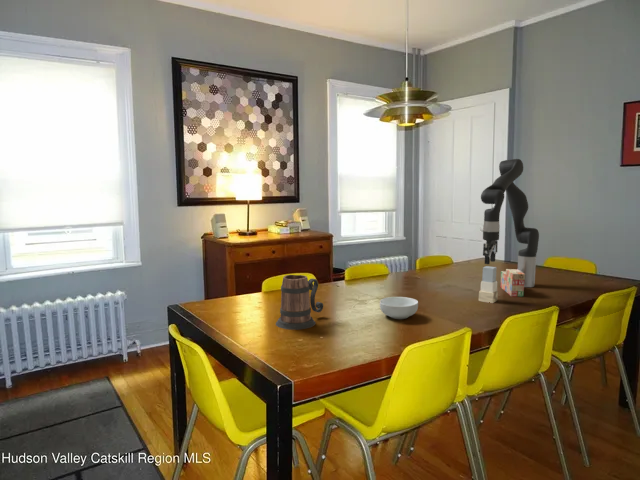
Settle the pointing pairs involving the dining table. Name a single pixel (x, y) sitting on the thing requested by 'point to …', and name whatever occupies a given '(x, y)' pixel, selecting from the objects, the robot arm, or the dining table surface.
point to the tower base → (488, 296)
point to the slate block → (489, 274)
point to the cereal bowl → (398, 307)
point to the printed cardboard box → (513, 282)
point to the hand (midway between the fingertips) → (489, 262)
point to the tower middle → (489, 287)
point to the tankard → (297, 302)
